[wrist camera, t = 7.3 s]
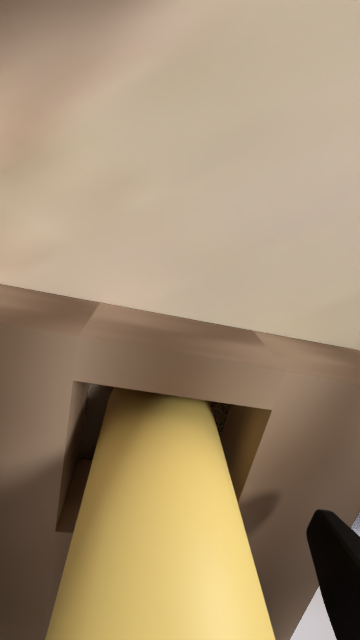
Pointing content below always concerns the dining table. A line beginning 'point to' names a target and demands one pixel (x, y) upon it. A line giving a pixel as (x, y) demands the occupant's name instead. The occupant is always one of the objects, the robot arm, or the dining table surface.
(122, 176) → the dining table surface
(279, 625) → the socket stand
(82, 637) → the peg
